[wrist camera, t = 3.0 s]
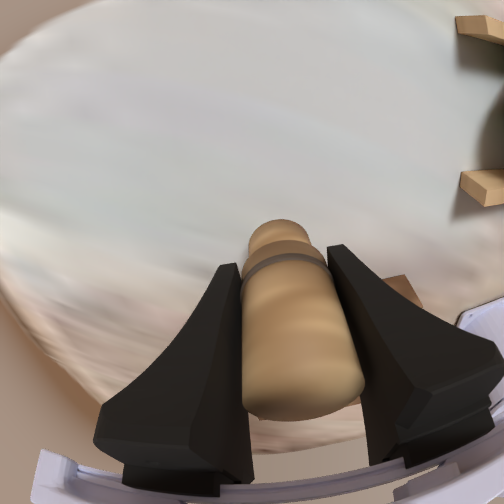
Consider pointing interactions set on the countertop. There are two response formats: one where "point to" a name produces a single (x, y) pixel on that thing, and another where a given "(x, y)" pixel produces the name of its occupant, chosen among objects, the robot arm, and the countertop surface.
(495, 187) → the chock rails
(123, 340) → the countertop surface
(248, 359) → the peg
